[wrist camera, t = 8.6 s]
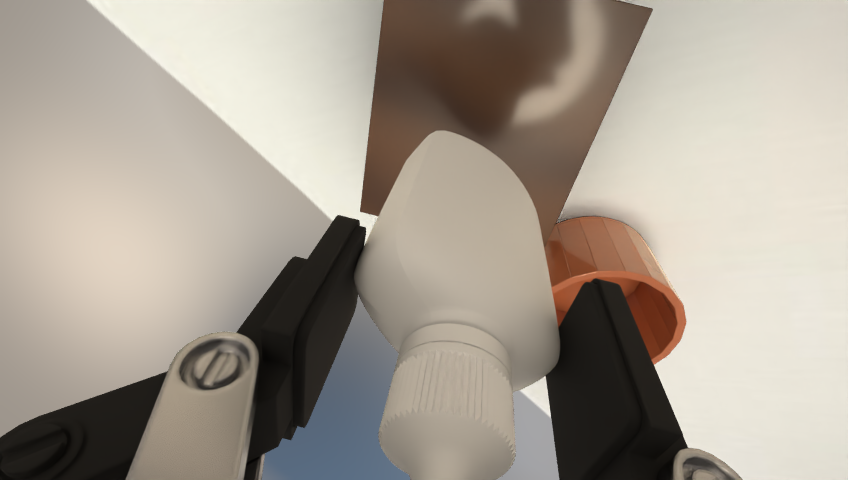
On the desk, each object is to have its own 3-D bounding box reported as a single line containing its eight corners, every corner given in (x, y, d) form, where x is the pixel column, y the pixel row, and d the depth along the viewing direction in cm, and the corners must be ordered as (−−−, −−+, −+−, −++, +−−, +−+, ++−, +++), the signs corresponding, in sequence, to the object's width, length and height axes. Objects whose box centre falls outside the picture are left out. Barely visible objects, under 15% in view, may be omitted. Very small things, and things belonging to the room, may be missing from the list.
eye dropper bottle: (444, 256, 18) (380, 608, 8) (395, 140, 15) (203, 447, 5) (543, 233, 16) (620, 626, 6) (508, 102, 14) (546, 419, 4)
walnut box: (405, -47, 21) (389, -53, 18) (628, 5, 21) (653, 8, 18) (374, 186, 29) (359, 211, 26) (535, 225, 29) (540, 256, 26)
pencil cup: (545, 202, 28) (557, 254, 23) (676, 234, 28) (720, 293, 22) (504, 298, 33) (506, 359, 28) (614, 326, 33) (637, 392, 28)
